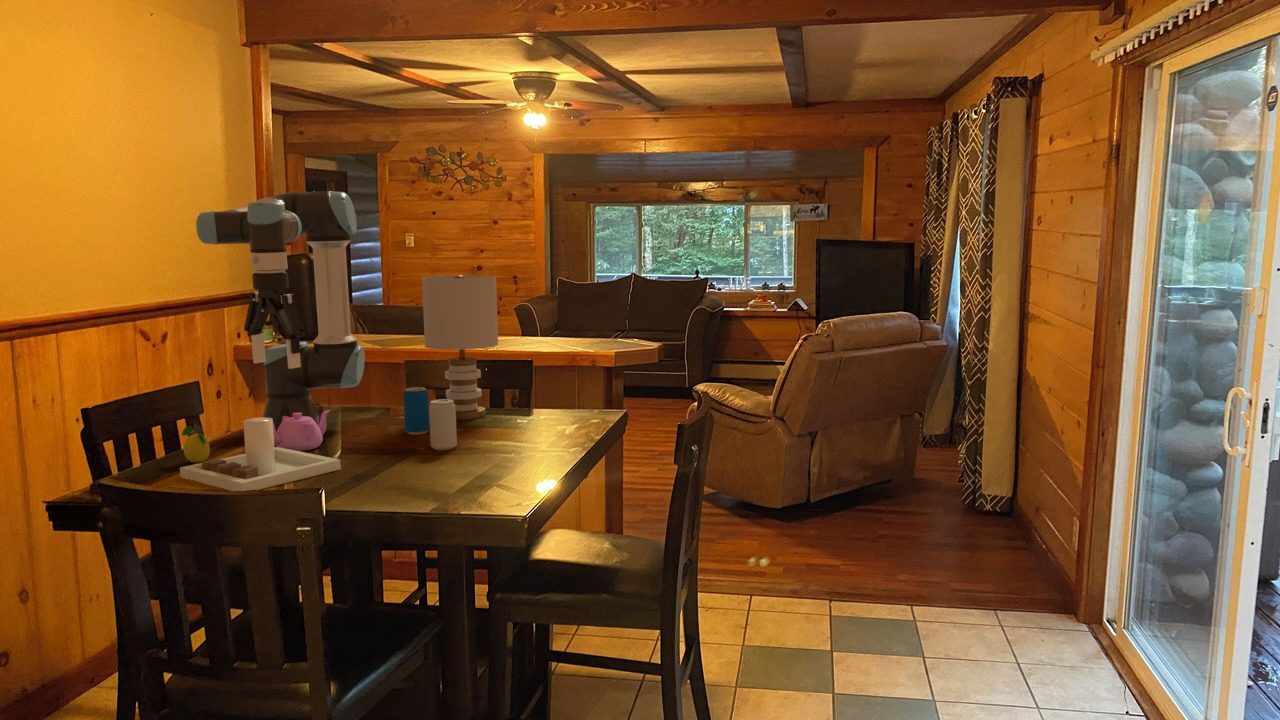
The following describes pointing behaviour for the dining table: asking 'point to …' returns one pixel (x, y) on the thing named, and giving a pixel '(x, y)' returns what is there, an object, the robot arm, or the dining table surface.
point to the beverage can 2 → (442, 424)
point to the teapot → (300, 432)
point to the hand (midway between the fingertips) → (276, 365)
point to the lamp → (461, 331)
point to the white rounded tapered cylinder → (260, 445)
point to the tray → (287, 470)
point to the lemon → (195, 445)
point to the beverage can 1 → (416, 410)
